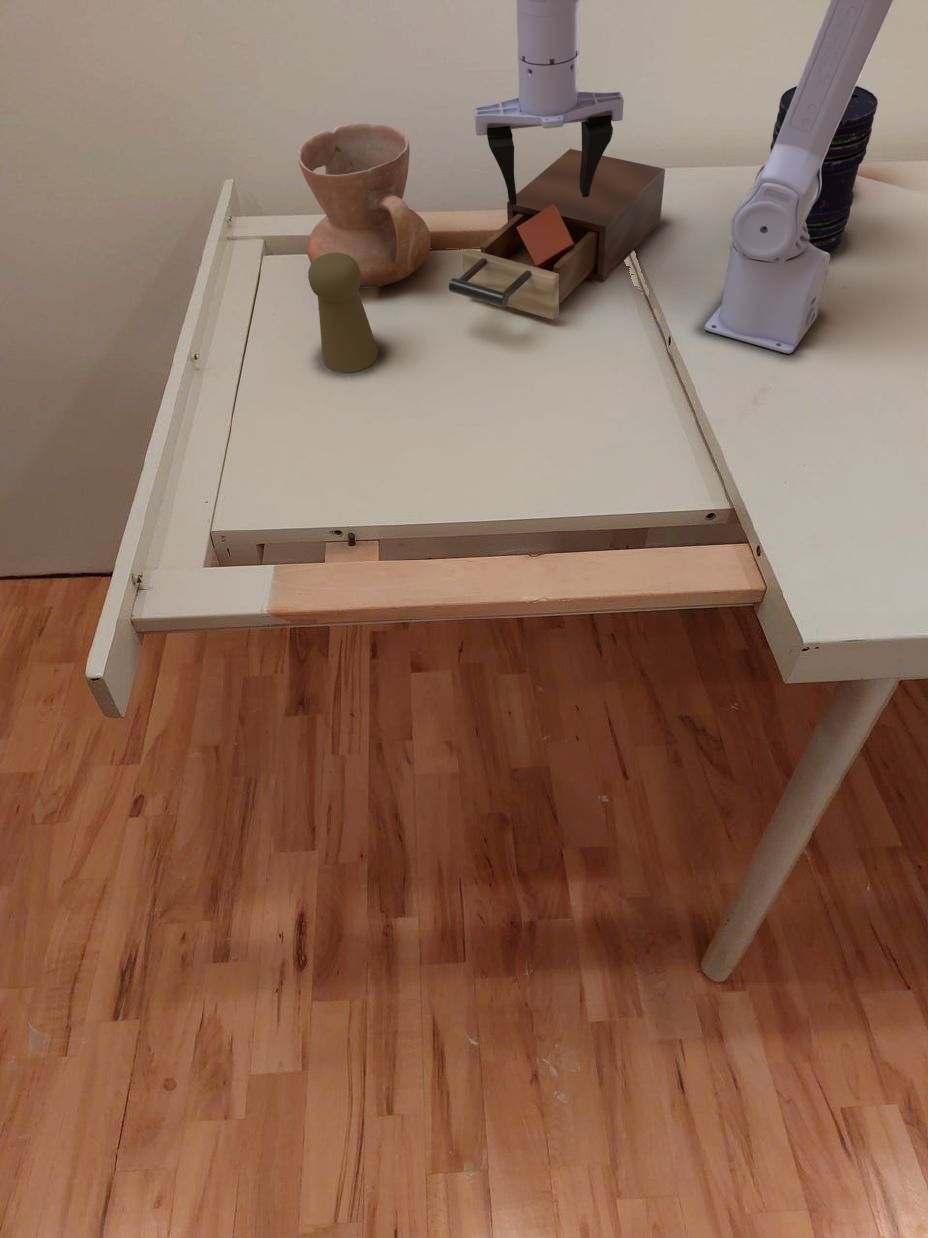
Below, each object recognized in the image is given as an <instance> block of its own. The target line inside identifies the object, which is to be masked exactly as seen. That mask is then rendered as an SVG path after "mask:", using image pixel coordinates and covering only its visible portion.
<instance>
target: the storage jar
mask: <svg viewBox="0 0 928 1238" xmlns="http://www.w3.org/2000/svg"><path fill="white" fill-rule="evenodd" d="M797 86H798V85H796V86H793V87H791V88H789V89H787V90H785V92H783V93H782V95H781V96H780V99H779V105H778V112H777V116H776V121H775V122H774V125H773V130H772V131H773V132H772V141H771V143H770V146H769V147H770V152H769V154H770V153H771V151H772V149H773V147H774V144H775V142H776V140H777V137H778V134H779V132H780V129H781V127H782V124H783V122H784V119H785V117H786V114H787V111H788V109H789V106H790V104H791V101H792V99H793V96H794V94H795V91H796V89H797ZM878 104H879V101H878V98H877V96H876V95H875V93H874V94H873V93H871V92H870V91H868V90H866V89H864V88H861V87H859V86H856V87H855V89H854V91H853V93H852V96H851V98H850V100H849V102H848V105H847V107H846V109H845V111H844V114H843V116H842V118H841V120H840V123H839V125H838V127H837V129H836V132H835V134H834V136H833V138H832V141H831V143H830V146H829V149H828V152H827V154H826V156H825V158H824V161H823V164H822V168H821V180H822V186H821V191H820V194H819V197H818V199H817V201H816V202H815V203H814V205H813V206H812V208H811V210H810V212H809V214H808V216H807V218H806V220H805V222H806V226H807V229H808V234H809V237H810V238H809V242H810V243H811V244H812V245H813V246H815V247H816V248H818V249H820V250H822V251H825V252H827V253H829V254H830V255H833V254H834V253H835V252H836V251H838V250H839V248H840V246H841V244H842V240H843V233H844V232H845V229H846V226H847V225H848V222H849V218H850V214H851V208H852V206H853V203H854V197H855V195H854V194H855V193H854V187H855V183H856V180H857V179H856V178H857V175H858V171H859V168H860V165H861V164H862V163H863V161H864V159H865V156H866V154H867V150H868V149H867V147H868V144H869V143H870V140H871V137H872V132H873V128H872V127H873V124H874V119H875V117H874V116H875V115H876V112H877V109H878V106H879V105H878Z"/></svg>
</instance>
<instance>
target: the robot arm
mask: <svg viewBox="0 0 928 1238" xmlns="http://www.w3.org/2000/svg"><path fill="white" fill-rule="evenodd" d="M894 1H895V0H830V2H829V4H828V7H827V9H826V12H825V15H824V17H823V20H822V23H821V25H820V28H819V30H818V33H817V35H816V38H815V40H814V43H813V45H812V47H811V50H810V53H809V56H808V58H807V60H806V63H805V65H804V68H803V71H802V73H801V75H800V79H799V81H798V84H797V85H796V86H797V89H796V91H795V94H794V96H793V99H792V101H791V104H790V106H789V109H788V111H787V114H786V117H785V119H784V122H783V124H782V127H781V129H780V132H779V134H778V137H777V140H776V142H775V144H774V147H773V149H772V151H771V150H770V151H771V153H770V152H769V156H768V157H767V160H766V161H765V162H764V163H763V165H762V166H761V167H760V168H759V170H758V172H757V174H756V177H755V179H754V182H753V184H752V185H751V187H750V188H749V191H748V193H747V194H746V195H745V198H744V199H743V201H742V202H741V203H740V204H739V205H738V207H737V208H736V210H735V211H734V213H733V215H732V218H731V223H730V232H731V243H730V250H729V255H728V262H727V268H726V275H725V280H724V287H723V292H722V297H721V303H720V305H719V307H718V308H717V309H716V310H715V311H714V313H713V314H712V315H711V317H710V318H709V319H708V320H707V322H705V324H704V327H703V329H704V331H706V332H710V333H713V334H717V335H721V336H723V337H727V338H730V339H734V340H738V341H742V342H745V343H749V344H753V345H755V346H760V347H761V348H762V347H763V348H766V349H770V350H773V351H777V352H781V353H784V354H791V353H793V352H794V350H795V349H796V348H797V346H798V345H799V343H800V342H801V340H802V339H803V338H804V336H805V335H806V333H807V332H808V330H809V329H810V328H811V326H812V324H813V323H814V322H815V320H816V319H817V318H818V315H819V312H818V311H819V307H820V302H821V299H822V295H823V290H824V287H825V283H826V280H827V275H828V271H829V268H830V262H831V254H829V253H827V252H825V251H822V250H820V249H818V248H816V247H815V246H813V245H812V244H811V243H810V242H809V238H810V237H809V234H808V229H807V226H806V222H805V220H806V218H807V216H808V214H809V212H810V210H811V208H812V206H813V205H814V203H815V202H816V201H817V199H818V197H819V194H820V191H821V186H822V180H821V168H822V164H823V161H824V158H825V156H826V154H827V152H828V149H829V146H830V143H831V141H832V138H833V136H834V134H835V132H836V129H837V127H838V125H839V123H840V120H841V118H842V116H843V114H844V111H845V109H846V107H847V105H848V102H849V100H850V98H851V96H852V93H853V91H854V89H855V87H856V84H857V83H859V80H860V78H861V75H862V73H863V71H864V69H865V67H866V64H867V62H868V60H869V57H870V55H871V52H872V50H873V48H874V46H875V43H876V41H877V40H878V37H879V34H880V33H881V30H882V28H883V26H884V23H885V21H886V19H887V17H888V15H889V12H890V10H891V8H892V5H893V3H894ZM580 10H581V0H516V32H517V33H516V34H517V37H516V38H517V69H518V74H517V75H518V97H514V98H511V99H507V100H503V101H500V102H495V103H491V104H487V105H483V106H475V107H473V111H474V113H473V114H474V115H473V116H474V129H475V134H476V137H477V136H478V137H479V136H486V137H487V142H488V143H487V144H488V146H489V149H490V151H491V153H492V156H493V157H494V159H495V161H496V163H497V165H498V167H499V170H500V172H501V174H502V177H503V180H504V183H505V187H506V190H507V198H508V201H509V204H510V205H516V194H517V189H516V179H515V143H514V141H513V139H514V138H513V137H514V136H513V131H512V130H517V129H526V128H527V129H529V128H537V127H542V128H543V129H556V128H562V127H563V126H564V125H565V124H572V123H573V124H574V123H580V124H581V125H580V126H581V127H580V128H581V129H580V130H581V151H582V158H581V169H580V190H581V194H582V197H589V194H590V189H591V184H592V181H593V177H594V174H595V171H596V168H597V166H598V163H599V161H600V159H601V157H602V156H604V152H605V151H606V149H607V147H608V146H609V144H610V142H611V141H612V137H613V133H614V127H613V124H612V122H619V121H621V122H622V121H623V119H624V104H625V103H624V102H625V100H624V97H623V95H622V92H621V91H614V92H597V91H596V92H595V91H592V92H591V91H579V59H580V57H579V54H580V16H581V15H580Z"/></svg>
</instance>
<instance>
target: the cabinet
mask: <svg viewBox="0 0 928 1238" xmlns="http://www.w3.org/2000/svg"><path fill="white" fill-rule="evenodd" d="M581 158H582V150H578V149H573V148H569V149H568V150H566V151H565V152H564V153H563V154H562V155H561V156H560V157H558V158H557V159H555V161H554V162H552V163H551V164H550V165H549V166H548V167H547V168H545V169H544V171H542V172H540V173H539V174H538V175H537V176H536V177H535V178H534V179H532V180H531V181H530V182H529V183H528V184H526V185H525V186H524V187H523V188H522V189H521V190H520V191H518V192H516V205H510V204H509V200H507V202H506V213H507V214H506V215H507V216H506V217H507V218H506V219H507V222H509V221H510V220H511V219H512V218H513V217H514V216H516V215H517V214H518V213H519V212H522V213H526V214H530V215H534V216H535V215H537V214H538V213H540V212H541V211H543V210H545V209H546V208H548V207H549V206H551V205H552V204H554V206H555V207H556V208H557V210H558V212H559V214H560V216H561V218H562V219H563V221H564V223H567V224H571V225H575V226H579V227H583V228H587V229H591V230H595V231H599V249H598V266H597V267H596V268H595V269H594V270H593V271H592V272H591V273H590V274H589V275H588V276H587V277H586V278H587V279H590V280H593V281H597V282H601V283H604V282H605V281H606V280H607V279H608V278H609V277H610V276H611V275H612V274H613V273H614V272H615V271H616V270H617V269H618V268H619V267H620V266H621V265H622V263H623V262H624V261H625V260H626V259H627V258H628V257H629V256H630V255H631V254H632V253H633V251H635V250H636V249H637V248H638V247H639V246H640V245H641V244H642V243H643V242H644V241H645V239H647V238H648V237H649V236H650V234H651V233H653V231H654V230H655V229H656V228H657V227H658V226H659V225H660V224H661V217H662V216H661V215H662V206H663V197H664V196H663V195H664V188H665V187H664V185H665V178H666V176H665V175H666V168H663V167H658V166H654V165H649V164H644V163H640V162H634V161H631V160H625V159H620V158H616V157H611V156H607V155H602V157H601V159H600V161H599V163H598V166H597V168H596V171H595V174H594V177H593V181H592V184H591V189H590V194H589V197H582V194H581V190H580V169H581ZM586 278H585V279H586Z"/></svg>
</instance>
